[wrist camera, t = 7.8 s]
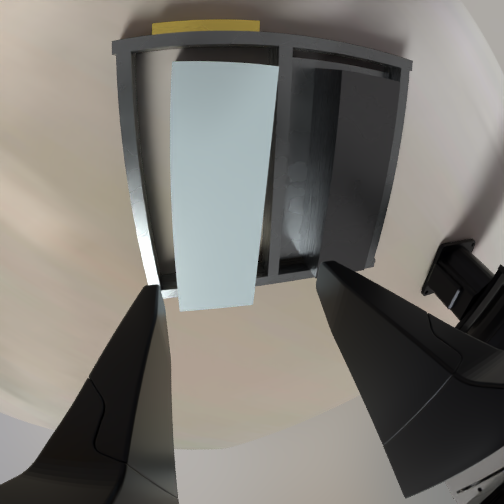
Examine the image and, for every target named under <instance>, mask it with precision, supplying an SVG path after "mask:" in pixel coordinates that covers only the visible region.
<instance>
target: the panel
mask: <svg viewBox="0 0 504 504" xmlns="http://www.w3.org/2000/svg"><path fill="white" fill-rule="evenodd" d="M278 73H279V66H271V65H262V64H251V63H237V62H215V61H175V62H172V77H171V107H170V171H171V202H172V223H173V239H174V254H175V266H176V278H177V289H178V299H179V308H180V311H192V310H204V309H215V308H225V307H235V306H245V305H253V300H254V291H255V283H256V274H257V265H258V257H259V248H260V239H261V230H262V221H263V212H264V203H265V194H266V185H267V176H268V167H269V158H270V149H271V139H272V130H273V120H274V111H275V101H276V92H277V82H278Z"/></svg>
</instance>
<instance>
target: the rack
mask: <svg viewBox="0 0 504 504" xmlns="http://www.w3.org/2000/svg"><path fill="white" fill-rule="evenodd" d="M226 46H232V47H265V48H270V53H269V65H271V66H279V73H278V82H277V92H276V101H275V111H274V120H273V130H272V139H271V149H270V158H269V167H268V176H267V185H266V194H265V203H264V220H263V242H262V262H260V263H258V265H257V274H256V283H255V286H261V285H268V284H274V283H281V282H287V281H294V280H300V279H306V278H312V277H315V278H317V276H318V271H319V266H320V264H321V263H322V262H325V261H331V260H333V261H336V262H338V263H340V264H342V265H344V266H345V267H347V268H349V269H351V270H353V271H361V270H364V269H365V268H370V267H373V266H374V263H375V258H374V256H375V253H376V249H377V246H378V242H379V239H380V235H381V231H382V227H383V223H384V219H385V215H386V211H387V207H388V203H389V199H390V194H391V190H392V185H393V180H394V175H395V170H396V165H397V160H398V154H399V149H400V143H401V137H402V130H403V124H404V117H405V109H406V101H407V92H408V83H409V71H412V62H413V61H411V60H408V59H405V58H402V57H399V56H396V55H392V54H389V53H385V52H382V51H378V50H374V49H370V48H366V47H362V46H358V45H353V44H348V43H344V42H338V41H333V40H328V39H322V38H315V37H309V36H301V35H293V34H284V33H272V32H260V21H255V20H227V19H215V20H186V21H172V22H162V23H153V24H152V35H147V36H140V37H133V38H127V39H121V40H116V41H112V55H115V56H116V65H117V87H118V102H119V114H120V125H121V135H122V144H123V152H124V160H125V167H126V174H127V181H128V187H129V193H130V199H131V205H132V211H133V216H134V221H135V226H136V231H137V236H138V241H139V246H140V251H141V255H142V260H143V264H144V268H145V272H146V277H147V281H148V285H153V284H158V285H159V286H160V289H161V293H162V297H163V299H164V298H172V297H178V289H177V278H176V273H174V274H166V275H161V273H160V268H159V263H158V258H157V253H156V248H155V242H154V237H153V231H152V225H151V219H150V213H149V206H148V199H147V192H146V185H145V178H144V170H143V161H142V152H141V143H140V132H139V120H138V107H137V90H136V66H135V53H142V52H149V51H158V50H167V49H178V48H193V47H226ZM293 50H301V51H309V52H317V53H324V54H330V55H336V56H342V57H347V58H353V59H358V60H362V61H367V62H371V63H376V64H380V65H384V66H386V67H385V72H381V71H377V70H372V69H368V68H363V67H358V66H352V65H347V64H341V63H335V62H328V61H321V60H314V59H305V58H295V57H293ZM294 257H298V258H294ZM287 258H290V259H287ZM279 259H283V260H279Z"/></svg>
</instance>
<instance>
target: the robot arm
mask: <svg viewBox="0 0 504 504" xmlns="http://www.w3.org/2000/svg"><path fill="white" fill-rule="evenodd" d="M474 245H475V240H473V239H468V240H463V241H457V242H452V243H446V244H442V245H441V246H440V248H439V250H438V252H437V255H436V258H435V260H434V263H433V265H432V268H431V270H430V272H429V275H428V277H427V280H426V282H425V284H424V286H423V289H422V291H421V293H422V294H423V296H426V295H429V294H432V293H435V294H436V296H437V297H438V298H439V299H440V300H441V301H442V302H443V304H444V305H445V306H446V307H447V308H448V309H450V310H451V311H452V312H453V313H454V314H455V316H456V317H457V318H458V319H459V320H461V321H460V322H459V323H458V324H457V325H456V327H455V328H454V327H452V326H451V325H449V324H447V323H445V322H443V321H442V320H440V319H438V318H436V317H435V316H433V315H431V314H430V313H428V314H427V312H426V311H424V310H422V309H421V308H419V307H417V306H415V305H414V304H412V303H410V302H408V301H407V300H405V299H403V298H401V297H400V296H398V295H396V294H394V293H393V292H391V291H389V290H387V289H385V288H384V287H382V286H380V285H378V284H376V283H375V282H373V281H371V280H369V279H367V278H366V277H364V276H362V275H360V274H358V273H356V272H355V271H353V270H351V269H349V268H347V267H345V266H344V265H342V264H340V263H338V262H336V261H333V260H331V261H325V262H322V263H321V264H320V266H319V271H318V276H317V281H316V289H317V293H318V295H319V298H320V301H321V304H322V307H323V310H324V312H325V315H326V318H327V321H328V324H329V327H330V329H331V332H332V334H333V336H334V339H335V341H336V343H337V345H338V347H339V349H340V351H341V353H342V356H343V358H344V360H345V362H346V364H347V366H348V368H349V370H350V373H351V375H352V377H353V379H354V381H355V383H356V386H357V388H358V390H359V392H360V394H361V397H362V399H363V401H364V403H365V405H366V408H367V410H368V412H369V414H370V417H371V419H372V421H373V423H374V426H375V428H376V430H377V433H378V435H379V437H380V440H381V442H382V444H383V445H384V446H383V447H384V449H385V452H386V454H387V456H388V459H389V461H390V463H391V466H392V468H393V471H394V473H395V475H396V478H397V480H398V483H399V485H400V487H401V490H402V492H403V495H404V497H405V498H408V497H411V496H413V495H416V494H418V493H420V492H423V491H425V490H427V489H430V488H432V487H434V486H436V485H438V484H440V483H442V482H444V481H445V483H446V485H447V487H448V489H449V491H450V493H451V495H452V497H453V499H455V500H456V502H457V504H504V267H503V266H502V265H500V266H499V268H498V271H497V272H496V274H495V275H494V274H493V273H492V272H491V271H490V270H489V269H488V268H487V267H486V266H485V265H484V264H483V263H482V262H481V261H479V260H478V259H477V258H476V257H475V256H474V255H473V254H472V250H473V248H474ZM177 498H178V492H177V483H176V471H175V459H174V443H173V424H172V394H171V357H170V348H169V339H168V330H167V321H166V311H165V306H164V302H163V297H162V293H161V289H160V286H159V285H158V284H153V285H146V286H144V287H143V289H142V290H141V292H140V293H139V295H138V296H137V298H136V299H135V301H134V302H133V304H132V306H131V307H130V309H129V310H128V312H127V313H126V315H125V317H124V318H123V320H122V321H121V323H120V325H119V326H118V328H117V329H116V331H115V333H114V334H113V336H112V338H111V339H110V341H109V342H108V344H107V346H106V347H105V349H104V351H103V352H102V354H101V356H100V358H99V359H98V361H97V363H96V364H95V366H94V368H93V370H92V371H91V373H90V375H89V378H87V380H86V382H85V383H84V385H83V387H82V389H81V391H80V392H79V394H78V396H77V397H76V399H75V401H74V402H73V404H72V406H71V407H70V409H69V410H68V412H67V413H66V415H65V417H64V418H63V420H62V421H61V423H60V424H59V426H58V427H57V429H56V430H55V432H54V433H53V434H52V436H51V438H50V439H49V440H48V442H47V444H46V445H45V447H44V448H43V450H42V451H41V453H40V454H39V456H38V457H37V459H36V460H35V462H34V463H33V464H32V465H31V466H30V467H29V468H28V469H27V470H26V471H24V472H23V473H22V474H20V475H18V476H17V477H15V478H13V479H11V480H9V481H7V482H5V483H3V484H1V485H0V504H179V502H178V499H177Z"/></svg>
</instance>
